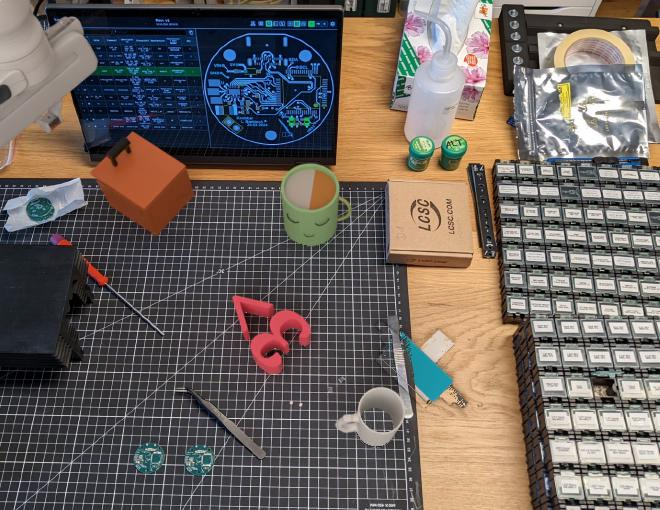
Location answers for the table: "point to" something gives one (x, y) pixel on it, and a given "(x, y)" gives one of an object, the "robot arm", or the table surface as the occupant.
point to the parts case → (154, 204)
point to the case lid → (138, 170)
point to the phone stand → (430, 368)
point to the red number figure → (277, 326)
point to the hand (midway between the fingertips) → (52, 125)
